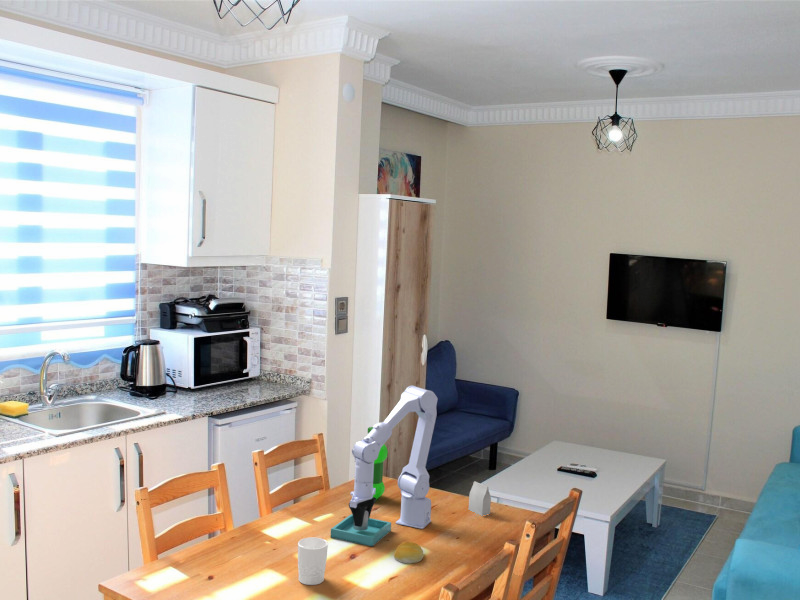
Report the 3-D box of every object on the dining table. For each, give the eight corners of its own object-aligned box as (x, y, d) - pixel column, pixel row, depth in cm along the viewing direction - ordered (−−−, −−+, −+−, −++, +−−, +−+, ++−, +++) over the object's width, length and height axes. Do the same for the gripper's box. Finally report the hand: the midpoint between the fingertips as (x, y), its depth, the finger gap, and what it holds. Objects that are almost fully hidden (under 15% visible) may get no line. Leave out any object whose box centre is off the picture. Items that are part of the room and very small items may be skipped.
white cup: (297, 572, 204) (298, 536, 203) (326, 573, 204) (328, 537, 204) (295, 586, 196) (297, 549, 195) (326, 586, 197) (327, 549, 196)
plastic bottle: (357, 492, 271) (361, 423, 269) (386, 494, 270) (390, 426, 268) (353, 501, 261) (356, 430, 259) (383, 504, 260) (387, 433, 258)
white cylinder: (370, 527, 234) (371, 511, 233) (363, 531, 230) (363, 515, 229) (358, 524, 236) (358, 508, 235) (350, 528, 232) (351, 512, 231)
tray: (390, 530, 237) (391, 522, 236) (372, 546, 224) (372, 537, 223) (350, 522, 242) (351, 514, 242) (330, 537, 229) (330, 528, 229)
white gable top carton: (481, 517, 253) (483, 487, 252) (468, 510, 258) (470, 482, 258) (489, 515, 255) (491, 486, 254) (476, 508, 261) (478, 480, 260)
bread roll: (391, 562, 214) (392, 549, 213) (397, 550, 223) (398, 537, 222) (420, 566, 212) (421, 552, 212) (425, 553, 221) (426, 540, 221)
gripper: (362, 471, 240) (359, 513, 241) (341, 484, 226) (339, 528, 227) (382, 475, 237) (380, 517, 238) (362, 488, 224) (360, 533, 225)
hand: (361, 523), depth 232 cm, fingers closed on white cylinder, 4 cm apart
